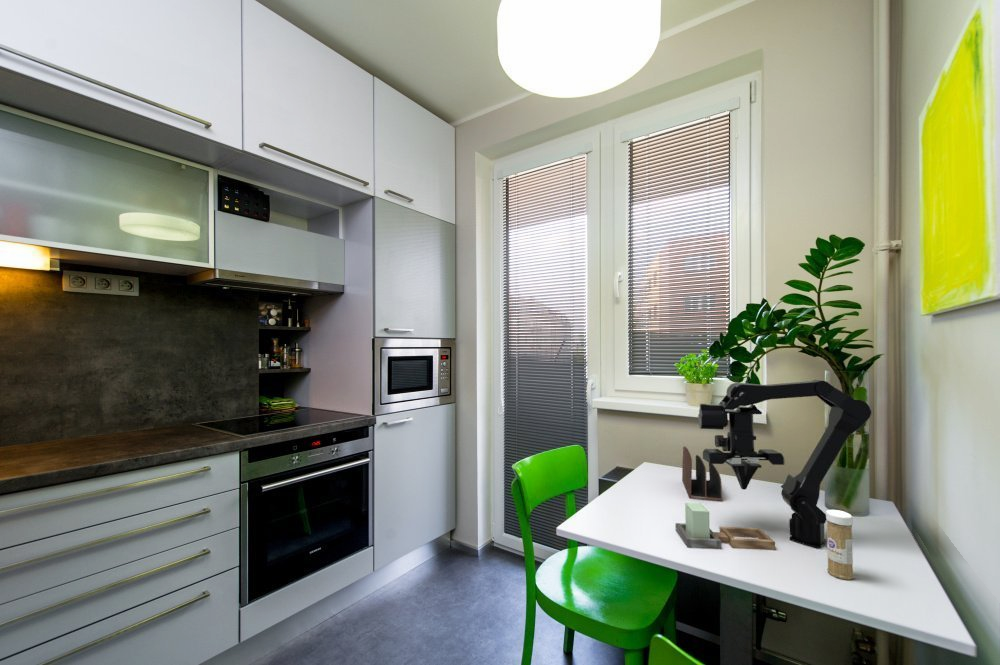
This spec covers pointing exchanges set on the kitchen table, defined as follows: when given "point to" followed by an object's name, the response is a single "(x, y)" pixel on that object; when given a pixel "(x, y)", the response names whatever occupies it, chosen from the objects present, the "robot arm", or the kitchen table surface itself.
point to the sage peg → (697, 521)
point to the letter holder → (700, 479)
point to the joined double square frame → (728, 538)
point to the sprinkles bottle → (839, 544)
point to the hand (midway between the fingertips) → (743, 489)
